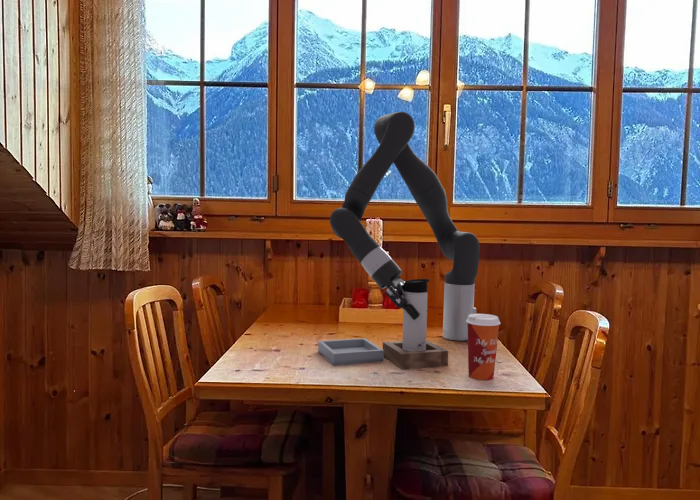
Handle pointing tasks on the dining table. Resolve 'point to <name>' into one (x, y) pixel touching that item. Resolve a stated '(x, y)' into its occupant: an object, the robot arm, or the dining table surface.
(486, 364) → the coffee cup
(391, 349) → the socket collar
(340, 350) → the parts tray
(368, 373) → the dining table surface
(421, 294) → the travel mug
